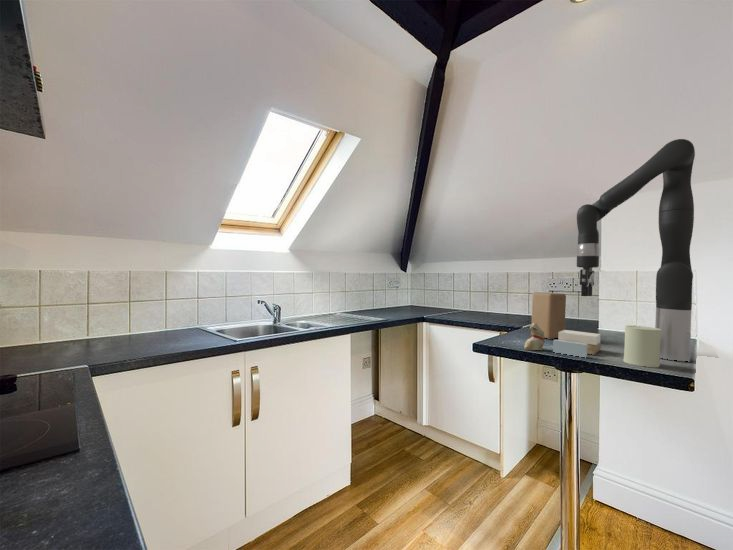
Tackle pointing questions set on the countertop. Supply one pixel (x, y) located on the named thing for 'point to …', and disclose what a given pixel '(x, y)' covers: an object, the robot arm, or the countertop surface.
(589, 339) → the slab
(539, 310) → the wooden block
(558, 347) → the rail
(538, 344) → the chocolate bunny
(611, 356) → the countertop surface
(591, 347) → the roller
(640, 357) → the can
